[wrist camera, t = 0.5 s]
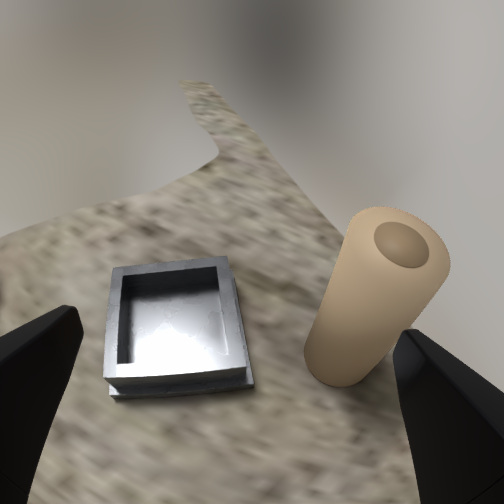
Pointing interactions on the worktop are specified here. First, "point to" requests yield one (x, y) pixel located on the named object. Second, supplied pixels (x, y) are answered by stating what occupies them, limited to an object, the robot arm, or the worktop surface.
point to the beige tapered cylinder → (374, 293)
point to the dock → (175, 331)
